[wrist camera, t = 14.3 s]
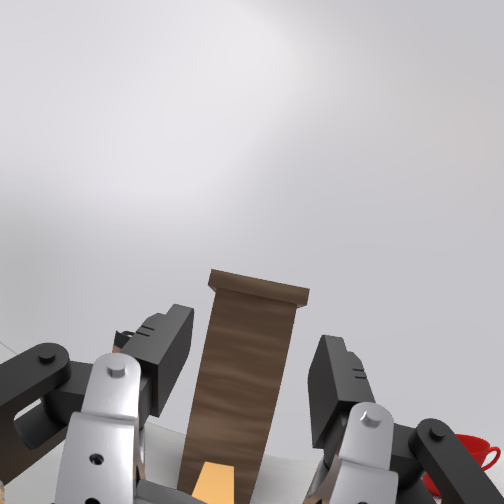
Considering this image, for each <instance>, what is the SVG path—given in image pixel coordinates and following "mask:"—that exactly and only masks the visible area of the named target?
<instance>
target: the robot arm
mask: <svg viewBox="0 0 504 504" xmlns="http://www.w3.org/2000/svg"><path fill="white" fill-rule="evenodd" d="M193 319H194V309H193V308H190V307H185V306H182V305H178V304H174V305H173V306H172V307H171V308H170V310H169V311H168V312H167V314H166V315H164V314H161V313H157V314H155V315H153V316H151V317H148V318H147V319H146V320H145V321H144V323H143V324H142V325H141V327H139V329H138V330H137V331H136V333H134V335H133V336H132V337H131V338H130V339H129V341H128V342H127V343H126V344H125V345H124V347H123V348H122V349H121V350H120V351H119V353H109V354H105V355H103V356H101V357H99V358H98V359H97V360H96V361H95V362H94V364H88V363H82V362H75V361H70V359H69V354H68V352H67V350H66V349H65V348H64V347H63V346H61V345H59V344H55V343H42V344H38V345H36V346H35V347H32V348H30V349H29V350H27V351H25V352H23V353H21V354H19V355H17V356H15V357H13V358H11V359H10V360H8V361H6V362H4V363H2V364H0V504H4V486H5V485H6V484H8V483H9V482H10V481H12V480H13V479H14V478H16V477H17V476H18V475H20V474H21V473H22V472H24V471H25V470H26V469H28V468H29V467H30V466H31V465H33V464H34V463H35V462H37V461H38V460H39V459H41V458H42V457H43V456H44V455H46V454H47V453H48V452H49V451H51V450H52V449H53V448H55V447H56V446H57V445H58V444H60V443H61V442H62V441H63V440H65V439H66V440H65V444H64V449H63V454H62V459H61V464H60V470H59V476H58V482H57V488H56V496H55V503H52V504H208V503H205V502H203V501H201V500H199V499H197V498H194V497H192V496H190V495H188V494H186V493H184V492H182V491H178V490H175V489H171V488H168V487H165V486H161V485H158V484H155V483H152V482H149V481H146V480H145V427H144V424H145V422H146V420H147V418H148V416H149V415H152V416H155V417H158V418H159V416H160V414H161V412H162V410H163V408H164V406H165V404H166V402H167V399H168V397H169V395H170V393H171V391H172V389H173V387H174V385H175V383H176V381H177V378H178V376H179V374H180V372H181V370H182V368H183V366H184V364H185V362H186V360H187V357H188V354H189V351H190V346H191V338H192V328H193ZM308 393H309V403H310V404H309V405H310V417H311V430H312V445H313V448H317V449H324V456H323V457H322V459H321V461H320V462H319V465H318V468H317V470H316V473H315V475H314V478H313V480H312V483H311V485H310V488H309V490H308V492H307V495H306V497H305V499H304V502H303V504H436V502H435V500H434V499H433V497H432V496H431V494H430V492H429V491H428V489H427V488H426V486H425V484H424V483H423V481H422V480H421V478H422V477H423V476H424V475H425V474H426V473H427V474H428V475H429V477H430V478H431V480H432V482H433V483H434V485H435V486H436V488H437V489H438V491H439V492H440V494H441V497H442V501H441V504H504V498H503V496H502V495H501V494H500V492H499V491H498V490H497V488H496V487H495V485H494V484H493V483H492V481H491V480H490V479H489V477H488V476H487V475H486V473H485V472H484V471H483V470H482V468H481V467H480V466H479V464H478V463H477V462H476V460H475V459H474V458H473V457H472V455H471V454H470V453H469V451H468V450H467V449H466V448H465V446H464V445H463V444H462V442H461V441H460V440H459V439H458V437H457V436H456V435H455V434H454V432H453V431H452V430H451V429H450V428H449V426H448V425H446V424H445V423H443V422H442V421H440V420H437V419H431V418H429V419H424V420H422V421H421V422H420V423H419V424H418V426H417V427H416V428H411V427H407V426H403V425H398V424H396V423H394V420H393V417H392V415H391V414H390V412H389V411H388V410H386V409H385V408H384V407H382V406H381V405H378V404H376V403H375V400H374V396H373V394H372V391H371V388H370V385H369V382H368V380H367V376H366V373H365V372H364V368H363V365H362V362H361V360H360V359H359V358H358V357H357V356H356V355H355V354H354V353H353V352H348V351H347V350H346V346H345V343H344V340H343V338H342V337H335V336H329V335H322V337H321V338H320V341H319V344H318V347H317V350H316V353H315V355H314V358H313V361H312V363H311V366H310V369H309V374H308ZM39 398H40V400H41V403H40V404H39V405H37V406H36V407H34V408H33V409H31V410H30V411H28V412H27V413H25V414H24V415H22V416H21V417H19V418H18V419H16V420H15V421H14V417H15V415H16V414H17V413H18V412H19V411H21V410H22V409H24V408H25V407H27V406H28V405H30V404H32V403H33V402H35V401H36V400H38V399H39Z"/></svg>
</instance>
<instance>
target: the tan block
mask: <svg viewBox="0 0 504 504" xmlns="http://www.w3.org/2000/svg"><path fill="white" fill-rule="evenodd" d="M192 497H194V498H197V499H199V500H201V501H203V502H205V503H208V504H234V467H233V466H227V465H221V464H215V463H210V462H205V463H204V466H203V468H202V471H201V473H200V476H199V479H198V481H197V484H196V486H195V489H194V491H193V494H192Z"/></svg>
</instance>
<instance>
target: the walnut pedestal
mask: <svg viewBox="0 0 504 504" xmlns="http://www.w3.org/2000/svg"><path fill="white" fill-rule="evenodd" d="M208 286H209V287H210V288H211V289H212V290H213V291H214V292H216V294H215V298H214V303H213V307H212V312H211V316H210V321H209V326H208V330H207V335H206V340H205V344H204V349H203V354H202V359H201V363H200V368H199V373H198V378H197V383H196V388H195V393H194V398H193V403H192V408H191V413H190V419H189V424H188V429H187V434H186V440H185V445H184V451H183V456H182V462H181V467H180V473H179V479H178V485H177V490H178V491H182V492H184V493H186V494H188V495H190V496H192V494H193V491H194V489H195V486H196V484H197V481H198V479H199V476H200V473H201V471H202V468H203V466H204V463H205V462H210V463H215V464H221V465H227V466H233V467H234V504H249V503H250V500H251V496H252V493H253V490H254V486H255V483H256V479H257V476H258V472H259V469H260V465H261V461H262V458H263V454H264V450H265V446H266V443H267V439H268V434H269V431H270V427H271V423H272V419H273V415H274V411H275V407H276V402H277V398H278V394H279V390H280V385H281V381H282V376H283V372H284V367H285V362H286V358H287V353H288V349H289V344H290V339H291V334H292V329H293V324H294V319H295V314H296V309H297V308H300V307H303V306H306V305H307V301H308V295H309V290H310V289H308V288H302V287H297V286H292V285H287V284H282V283H277V282H272V281H267V280H262V279H257V278H252V277H247V276H242V275H238V274H233V273H228V272H224V271H219V270H214V269H211V274H210V278H209V282H208Z"/></svg>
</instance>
